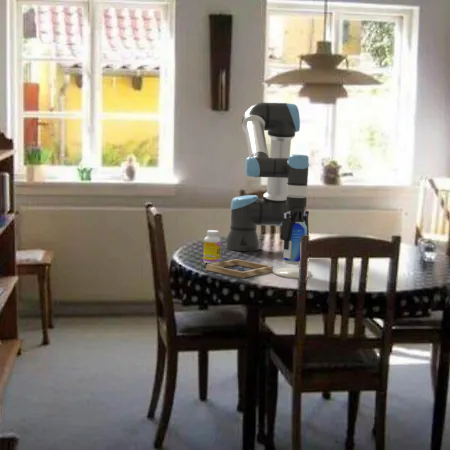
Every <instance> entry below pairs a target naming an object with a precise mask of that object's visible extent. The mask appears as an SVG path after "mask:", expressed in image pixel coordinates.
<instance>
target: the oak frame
mask: <svg viewBox="0 0 450 450" xmlns="http://www.w3.org/2000/svg"><path fill="white" fill-rule="evenodd" d="M234 266H241V267H245V268H246V267H247V268H251V269H250V270H244V271H239V270H234V269H231V268H228V267H234ZM205 270H206V271H209V272H215V273H218V274H223V275H227V276H232V277H236V278H241V279H243V278H249V277H254V276H257V275H262V274H266V273H267V274H268V273H272V272H273V273H274V266H272V265H267V264H263V263H257V262H254V261H248V260H244V259H243V260H242V259H237V258H235V259H231V260H226V261H225V260H224V261H220V262H219V263H213V264H206V268H205Z"/></svg>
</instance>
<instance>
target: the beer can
mask: <svg viewBox="0 0 450 450" xmlns="http://www.w3.org/2000/svg"><path fill="white" fill-rule="evenodd" d="M290 221H291V220H290ZM303 235H307V226H306V224H305V221H304V222H298V221H297V222H295V224H294V225H293V227H292V235H291V239H290V241H292V242H291V258H290V259H289V258H284V248H283V254H282V260H283V261H284V263H285V264H287V265H292V266H298V265H299V261H300V242H301V237H302V236H303ZM299 266H300V265H299Z"/></svg>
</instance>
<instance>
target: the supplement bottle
mask: <svg viewBox="0 0 450 450" xmlns="http://www.w3.org/2000/svg"><path fill="white" fill-rule="evenodd" d="M221 243H222V241H221V237H219V230H215V229H214V230H213V229H210V230H209V229H208V230H207V231H206V236H205V237H204V239H203V257H202V258H203V259H202V261H203V263H204V264H206V263H207V264H206V265H208V264H213V263H219V262H221V246H222V245H221Z"/></svg>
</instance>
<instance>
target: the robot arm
mask: <svg viewBox="0 0 450 450" xmlns="http://www.w3.org/2000/svg"><path fill="white" fill-rule="evenodd" d="M299 111H300V110H299V108H298V106H297V105H296V104H295V103H289V102H266V101H265V102H258V103H254V104H253V105H251V106H249V108H248V109H247V110H246V111H245V112H244V113H243V116H242V118H241V128H242V131H243V132H244V134H245V138H246V139H245V140H246V145H247V150H248V156H247V157H246V159H245V162H244V164H245V166H244V168H245V175H246V177H253V178H267V186H266V187H267V189H266V191H265V192H264V193H263V194H262V195H263V196H262V198H259V196H258V195H256V194H248V195H240V196H239V195H238V196H235V197H233V198H232V199H231V203H230V223H229V224H230V225H229V233H228V235H227V239H226V241H225V249H227V250H231V251H238V252H255V251H259V250H260V246H261V244H260V240H259V237H258V232H257V228H258V227H257V226H271V227H275V226H276V227H279V226H280V227H281V231H280V237H279V238H280V240H281V241H283V249H284V258H289V259H290V258H291V242H292V241H290V239H291V235H292V227H293V225H294V224H295V222H297V221H298V222H304V221H305V224H306V226H307V235H308V236H309V214H310V211H309V210H305V209H304V208H306V207H307V201H308V199H307V196H308V181H309V178H308V176H309V166H310V163H309V162H310V161H309V158H310V157H309V156H308V155H307V154H291V147H292V146H291V143H292V139H293V138H294V137H296V133H299V132H300V128H301V119H300V118H301V117H300V112H299ZM265 131H267V135H268V137H270V145H269V146H270V147H269V151H268V145H267V141H266V136H265ZM290 220H291V221H290Z"/></svg>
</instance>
